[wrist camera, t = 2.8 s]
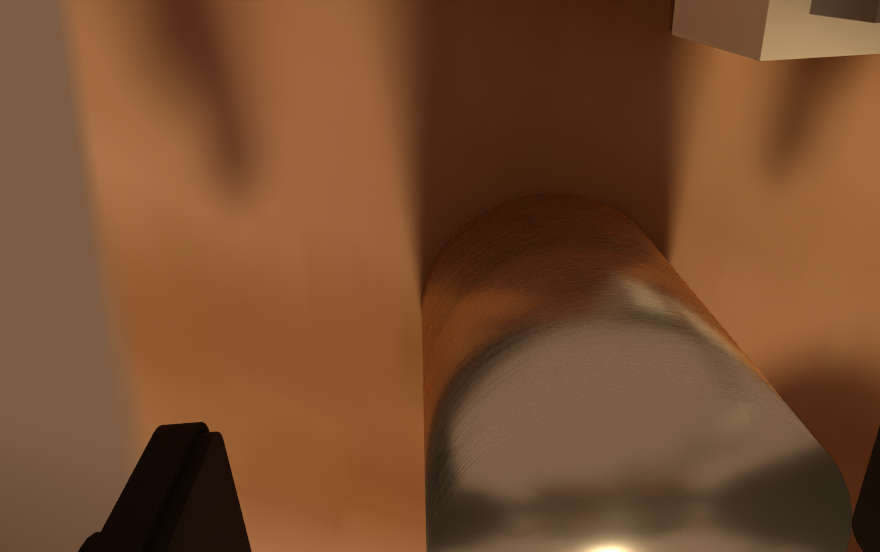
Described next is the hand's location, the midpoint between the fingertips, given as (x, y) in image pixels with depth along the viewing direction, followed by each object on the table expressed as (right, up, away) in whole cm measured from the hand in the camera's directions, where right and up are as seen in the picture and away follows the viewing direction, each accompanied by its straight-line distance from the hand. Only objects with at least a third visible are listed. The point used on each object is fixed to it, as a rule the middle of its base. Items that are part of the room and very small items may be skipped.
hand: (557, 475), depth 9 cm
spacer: (0, +2, +4) cm, 4 cm away
